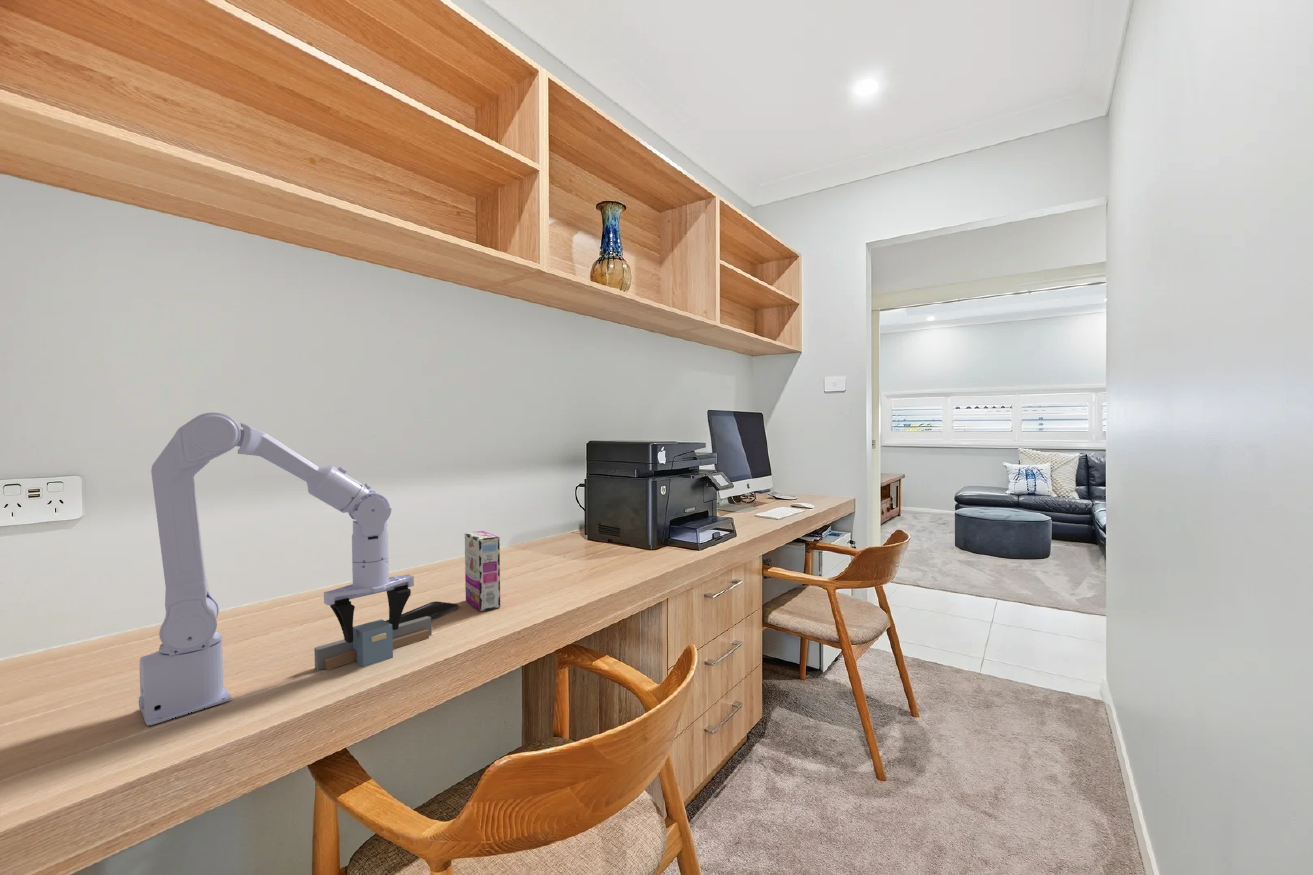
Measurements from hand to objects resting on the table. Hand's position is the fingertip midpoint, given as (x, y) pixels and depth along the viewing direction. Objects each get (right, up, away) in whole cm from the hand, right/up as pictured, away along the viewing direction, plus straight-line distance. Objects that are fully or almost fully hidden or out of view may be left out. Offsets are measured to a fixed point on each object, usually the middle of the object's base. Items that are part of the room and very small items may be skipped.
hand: (372, 634), depth 96 cm
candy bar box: (+10, -4, +30) cm, 32 cm away
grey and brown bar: (-1, -4, +4) cm, 6 cm away
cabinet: (0, -4, 0) cm, 4 cm away
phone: (-1, -5, +22) cm, 22 cm away
